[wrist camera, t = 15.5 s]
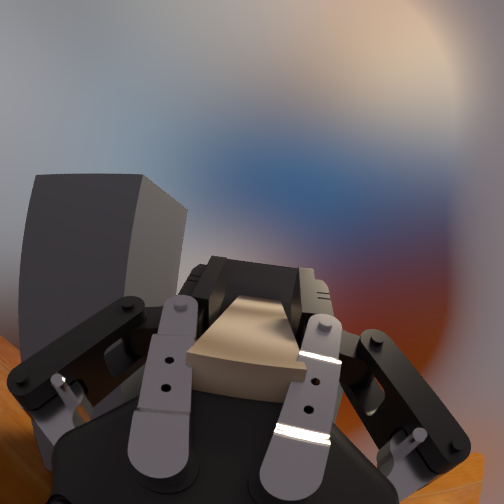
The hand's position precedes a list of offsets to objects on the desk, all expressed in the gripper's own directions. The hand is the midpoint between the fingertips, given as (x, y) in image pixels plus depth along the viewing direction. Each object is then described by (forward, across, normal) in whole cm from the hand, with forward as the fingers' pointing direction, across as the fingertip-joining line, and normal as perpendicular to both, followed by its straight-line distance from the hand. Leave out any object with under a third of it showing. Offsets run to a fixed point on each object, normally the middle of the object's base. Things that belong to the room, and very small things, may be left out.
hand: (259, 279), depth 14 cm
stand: (-5, +15, +27) cm, 32 cm away
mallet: (0, 0, +5) cm, 5 cm away
